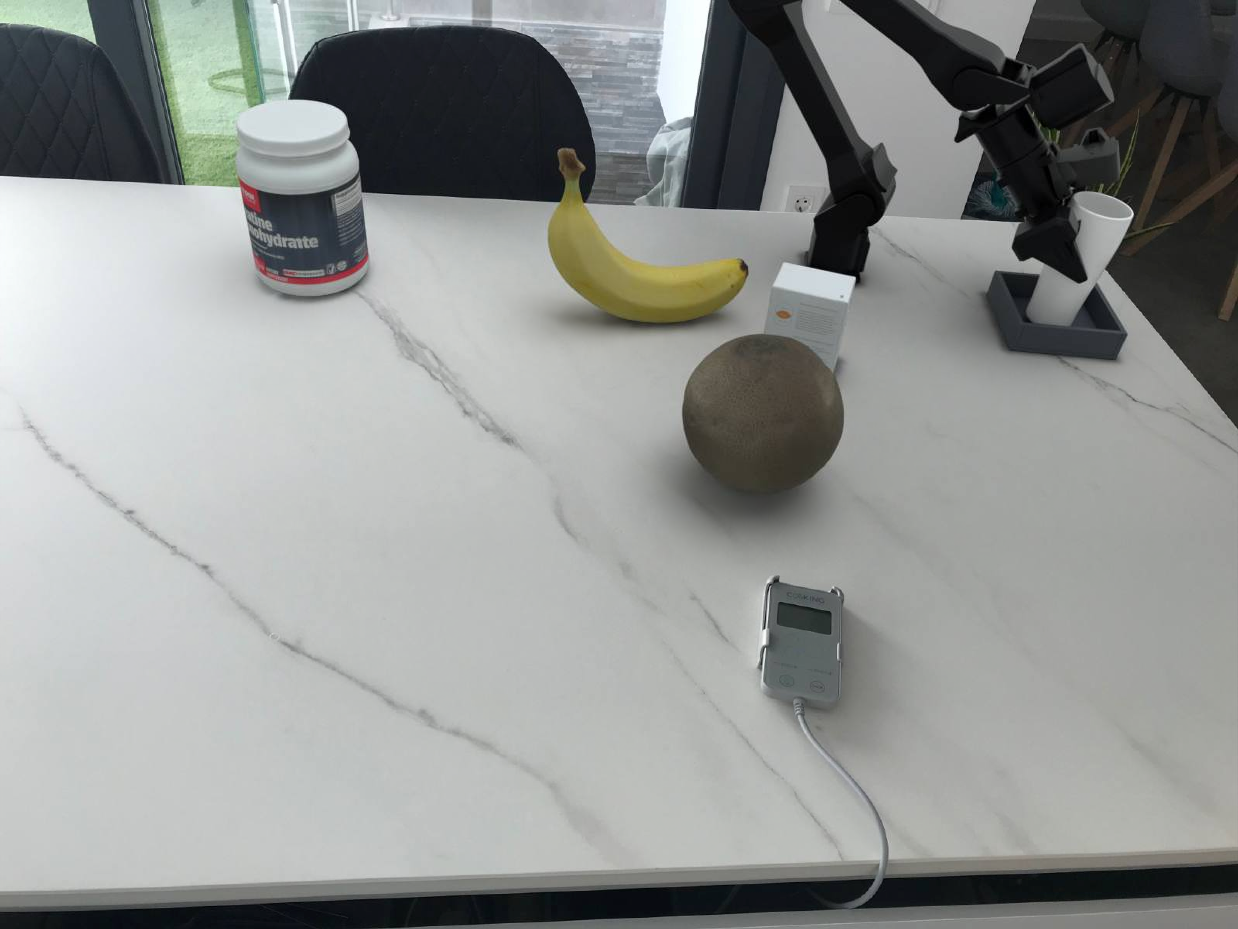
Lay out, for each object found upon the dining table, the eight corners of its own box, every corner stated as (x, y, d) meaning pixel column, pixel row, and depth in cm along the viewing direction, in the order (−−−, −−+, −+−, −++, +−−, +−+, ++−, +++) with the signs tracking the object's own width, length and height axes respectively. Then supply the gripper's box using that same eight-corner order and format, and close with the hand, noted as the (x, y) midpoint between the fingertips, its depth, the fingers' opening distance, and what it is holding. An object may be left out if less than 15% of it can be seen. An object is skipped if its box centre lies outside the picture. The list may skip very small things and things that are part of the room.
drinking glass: (1040, 300, 120) (1094, 186, 110) (1086, 329, 116) (1147, 213, 106) (1006, 312, 116) (1059, 196, 106) (1052, 342, 112) (1112, 224, 103)
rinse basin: (1009, 350, 112) (1019, 324, 110) (986, 294, 121) (994, 270, 119) (1115, 359, 112) (1128, 334, 109) (1084, 303, 121) (1095, 279, 119)
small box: (837, 360, 108) (858, 276, 101) (828, 388, 104) (850, 302, 97) (766, 343, 110) (783, 259, 103) (755, 369, 106) (771, 284, 99)
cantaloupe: (697, 419, 98) (717, 289, 88) (836, 456, 95) (872, 326, 85) (654, 508, 88) (670, 372, 78) (808, 553, 85) (845, 417, 75)
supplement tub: (236, 291, 111) (202, 132, 99) (289, 239, 120) (264, 89, 108) (343, 310, 109) (321, 152, 97) (388, 256, 119) (373, 106, 107)
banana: (735, 302, 116) (762, 138, 103) (746, 329, 112) (775, 161, 98) (544, 304, 113) (547, 135, 100) (548, 332, 108) (551, 160, 95)
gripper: (1088, 143, 95) (1159, 273, 99) (1098, 84, 108) (1161, 201, 112) (980, 199, 102) (1051, 318, 106) (1002, 138, 115) (1064, 246, 119)
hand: (1085, 268), depth 111 cm, fingers closed on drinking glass, 6 cm apart
